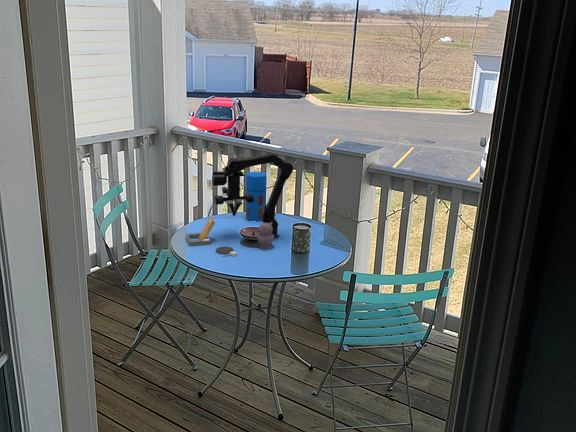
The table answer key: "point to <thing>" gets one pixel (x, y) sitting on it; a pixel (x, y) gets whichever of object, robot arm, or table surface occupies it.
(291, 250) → the table surface
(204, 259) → the table surface
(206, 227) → the block
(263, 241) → the cat figurine
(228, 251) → the ping pong paddle
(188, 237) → the breaker housing
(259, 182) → the thermos
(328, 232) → the table surface
